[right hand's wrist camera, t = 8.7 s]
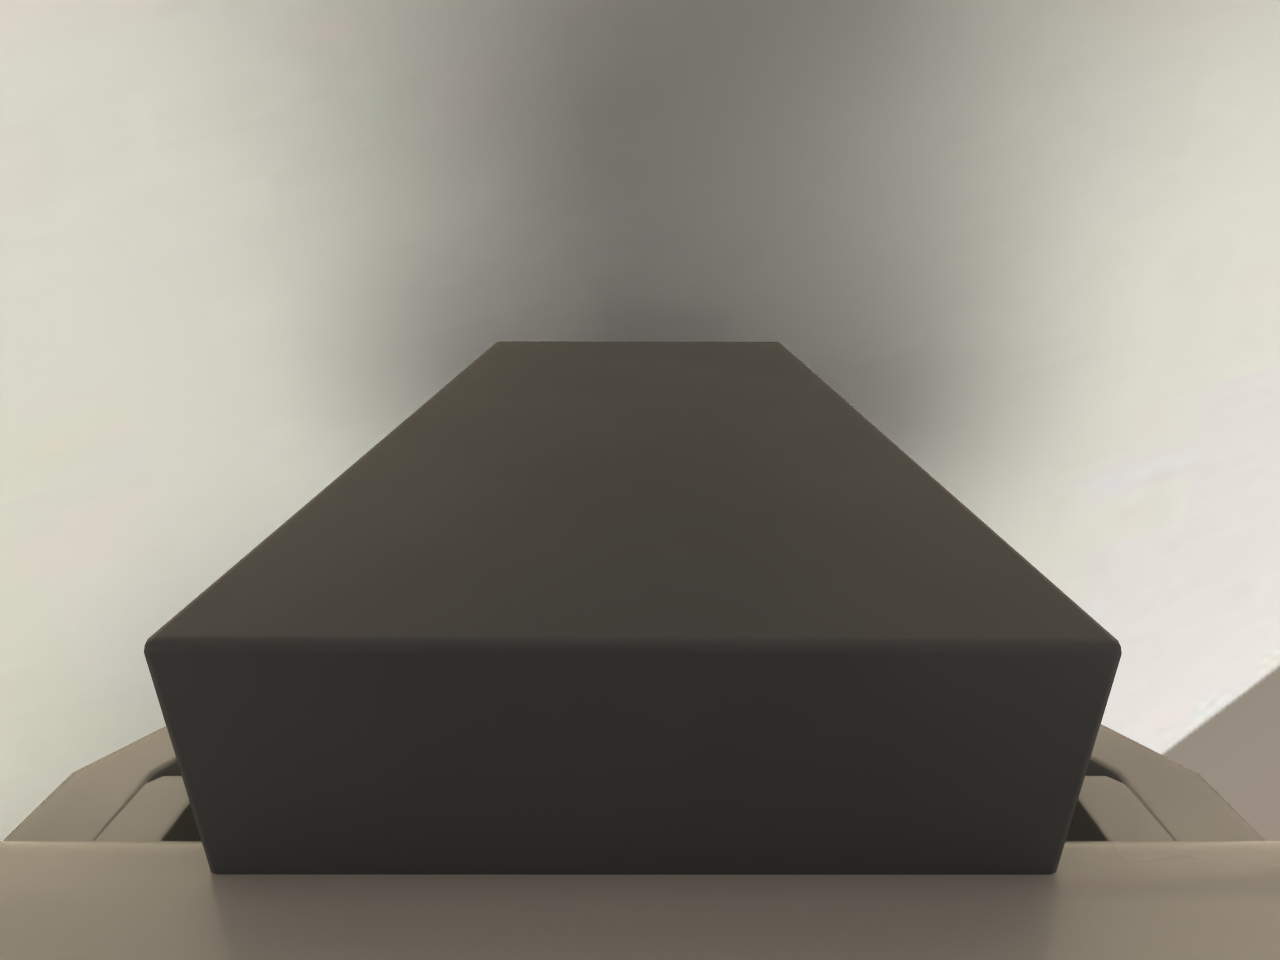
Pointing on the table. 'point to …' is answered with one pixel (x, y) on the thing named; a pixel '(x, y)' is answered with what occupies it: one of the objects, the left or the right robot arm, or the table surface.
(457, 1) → the table surface
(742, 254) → the table surface
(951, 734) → the box
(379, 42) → the table surface
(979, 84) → the table surface
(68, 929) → the right robot arm
